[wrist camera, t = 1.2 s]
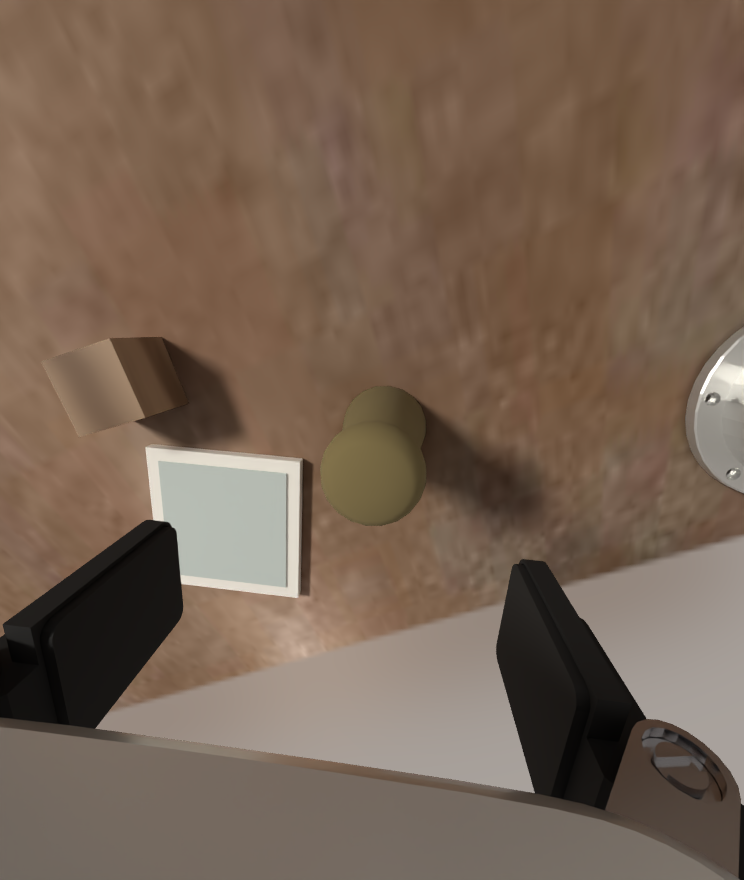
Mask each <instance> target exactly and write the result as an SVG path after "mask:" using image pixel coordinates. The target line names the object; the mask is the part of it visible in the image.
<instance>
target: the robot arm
mask: <svg viewBox="0 0 744 880" xmlns="http://www.w3.org/2000/svg"><path fill="white" fill-rule="evenodd" d="M685 422H686V436H687V439H688V442H689V446H690V449H691V452H692V453H693V455H694V457H695V458H696V460H697V462H698V463H699V465H700V466H701V467H702V468H703V469H704V470H705V471H706V472H707V473H708V474H709V475H710V476H711V477H713V478H714V479H716V480H718V481H719V482H721V483H722V484H724V485H726V486H728V487H730V488H732V489H735V490H737V491H739V492H741V493H744V327H742V328H741V329H739V330H738V331H736V332H735V333H734V334H733V335H732V336H731V337H730V338H729V339H727V340H726V341H725V342H724V343H723V344H722V345H721V346H720V347H719V348H718V349H717V350H716V351H715V353H714V354H713V355H712V356H711V357H710V359H709V360H708V361H707V362H706V364H705V365H704V367H703V368H702V370H701V372H700V374H699V375H698V377H697V379H696V381H695V382H694V385H693V388H692V391H691V393H690V396H689V399H688V404H687V410H686V417H685ZM182 612H183V599H182V588H181V576H180V565H179V553H178V542H177V532H176V529H175V528H172V526H171V524H170V523H169V522H165V521H155V520H146V521H144V522H142V523H141V524H140V525H138V526H137V527H135V528H134V529H133V530H131V531H130V532H129V533H127V534H126V535H124V536H123V537H122V538H120V539H119V540H118V541H116V542H115V543H113V544H112V545H111V546H109V547H108V548H107V549H105V550H104V551H103V552H101V553H100V554H98V555H97V556H96V557H94V558H93V559H92V560H90V561H89V562H87V563H86V564H85V565H83V566H82V567H81V568H79V569H78V570H76V571H75V572H74V573H72V574H71V575H70V576H68V577H67V578H65V579H64V580H63V581H61V582H60V583H59V584H57V585H56V586H54V587H53V588H52V589H50V590H49V591H48V592H46V593H45V594H44V595H42V596H41V597H39V598H38V599H37V600H35V601H34V602H33V603H31V604H30V605H28V606H27V607H26V608H24V609H23V610H22V611H20V612H19V613H17V614H16V615H15V616H13V617H12V618H11V619H9V620H8V621H6V622H5V623H4V624H3V628H4V632H5V634H4V635H3V636H2V637H0V880H744V805H742V804H741V798H740V793H739V788H738V785H737V783H736V782H735V780H734V778H733V776H732V774H731V772H730V771H729V770H728V768H727V767H726V766H725V765H724V763H723V762H722V761H721V760H720V758H719V757H718V756H717V755H716V754H715V753H714V752H713V751H711V750H710V749H709V748H708V747H707V746H706V745H705V744H704V743H703V742H701V741H700V740H698V739H697V738H695V737H694V736H693V735H691V734H690V733H688V732H687V731H684V730H683V729H681V728H679V727H677V726H674V725H673V724H670V723H667V722H663V721H660V720H651V719H646V717H645V716H644V714H643V712H642V711H641V709H640V708H639V706H638V704H637V703H636V701H635V700H634V698H633V696H632V695H631V693H630V692H629V690H628V688H627V687H626V685H625V684H624V682H623V681H622V679H621V677H620V676H619V674H618V673H617V671H616V669H615V668H614V666H613V664H612V663H611V661H610V660H609V658H608V656H607V655H606V653H605V652H604V650H603V648H602V647H601V645H600V644H599V642H598V640H597V639H596V637H595V636H594V634H593V632H592V631H591V629H590V628H589V626H588V625H587V623H586V622H585V621H584V620H583V619H581V618H579V616H578V614H577V613H576V611H575V609H574V608H573V606H572V605H571V603H570V601H569V600H568V598H567V597H566V595H565V593H564V591H563V590H562V588H561V587H560V585H559V583H558V582H557V580H556V578H555V577H554V575H553V573H552V572H551V570H550V569H549V567H548V565H547V564H546V563H545V562H543V561H535V560H525V559H522V560H521V561H520V563H519V564H514V565H513V566H512V570H511V575H510V580H509V585H508V590H507V595H506V600H505V605H504V610H503V615H502V620H501V625H500V630H499V635H498V640H497V646H496V654H497V660H498V664H499V668H500V671H501V674H502V678H503V682H504V685H505V689H506V692H507V696H508V699H509V703H510V707H511V710H512V714H513V717H514V721H515V724H516V727H517V731H518V735H519V738H520V742H521V745H522V749H523V752H524V756H525V759H526V763H527V766H528V770H529V773H530V777H531V780H532V784H533V788H534V791H535V793H530V792H524V791H518V790H512V789H506V788H500V787H494V786H488V785H482V784H476V783H470V782H464V781H458V780H452V779H445V778H439V777H432V776H425V775H418V774H412V773H405V772H398V771H391V770H384V769H378V768H371V767H364V766H357V765H350V764H344V763H337V762H330V761H323V760H316V759H310V758H302V757H295V756H288V755H281V754H274V753H267V752H260V751H253V750H246V749H239V748H232V747H225V746H217V745H210V744H203V743H196V742H189V741H182V740H174V739H167V738H160V737H152V736H145V735H137V734H129V733H122V732H115V731H107V730H100V729H95V728H96V727H97V725H98V724H99V723H100V722H101V720H102V719H103V718H104V716H105V715H106V714H107V713H108V711H109V710H110V709H111V707H112V706H113V705H114V704H115V702H116V701H117V700H118V699H119V697H120V696H121V695H122V693H123V692H124V691H125V690H126V688H127V687H128V686H129V684H130V683H131V682H132V681H133V679H134V678H135V677H136V675H137V674H138V673H139V672H140V670H141V669H142V668H143V666H144V665H145V664H146V663H147V661H148V660H149V659H150V657H151V656H152V655H153V654H154V652H155V651H156V650H157V648H158V647H159V646H160V645H161V643H162V642H163V641H164V639H165V638H166V637H167V636H168V634H169V633H170V632H171V630H172V629H173V628H174V627H175V625H176V624H177V623H178V621H179V620H180V618H181V615H182Z"/></svg>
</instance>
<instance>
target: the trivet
mask: <svg viewBox="0 0 744 880" xmlns="http://www.w3.org/2000/svg"><path fill="white" fill-rule="evenodd" d="M146 456H147V465H148V475H149V484H150V493H151V503H152V512H153V520H155V521H165V522H169V523H170V524H171V526H172V528H175V529H176V532H177V542H178V553H179V565H180V576H181V584H187V585H196V586H204V587H212V588H220V589H228V590H237V591H245V592H253V593H261V594H270V595H278V596H286V597H294V598H298V597H299V594H300V592H301V541H302V481H303V458H292V457H282V456H271V455H261V454H250V453H240V452H230V451H219V450H209V449H198V448H188V447H177V446H167V445H156V444H151V445H149V446H147V447H146Z"/></svg>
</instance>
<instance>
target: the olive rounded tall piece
mask: <svg viewBox="0 0 744 880" xmlns="http://www.w3.org/2000/svg"><path fill="white" fill-rule="evenodd" d="M425 434H426V419H425V416H424V413H423V410H422V408H421V406H420V405H419V404H418V402H417V401H416V400H415V398H414V397H413V396H411V395H410V394H408V393H407V392H405V391H404V390H402V389H398V388H395V387H392V386H376V387H373V388H371V389H368V390H365V391H363V392H362V393H361V394H359V395H358V396H357V397H356V398H354V399H353V401H352V402H351V404H350V405H349V407H348V408H347V411H346V415H345V418H344V422H343V429H342V431H341V432H340V433H339V434H337V435H336V436H335V437H334V438H333V440H332V441H331V443H330V444H329V446H328V447H327V449H326V450H325V452H324V455H323V459H322V463H321V466H320V473H321V485H322V489H323V491H324V494H325V496H326V498H327V501H328V502H329V503H330V504H331V505H332V507H333V508H334V509H335V510H336V511H337V512H338V513H339V514H341V515H342V516H344V517H345V518H347V519H348V520H350V521H352V522H356V523H359V524H362V525H366V526H383V525H386V524H390V523H393V522H397V521H398V520H400V519H401V518H403V517H404V516H406V515H407V514H409V513H410V512H411V510H412V509H413V508H414V507H415V505H416V504H417V503H418V502H419V500H420V498H421V496H422V493H423V490H424V488H425V485H426V463H425V460H424V457H423V454H422V451H421V446H422V443H423V440H424V437H425Z"/></svg>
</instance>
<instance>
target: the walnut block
mask: <svg viewBox="0 0 744 880" xmlns="http://www.w3.org/2000/svg"><path fill="white" fill-rule="evenodd" d="M41 363H42V365H43V367H44V369H45V371H46V373H47V375H48V377H49V379H50V381H51V383H52V385H53V387H54V389H55V391H56V393H57V395H58V397H59V399H60V401H61V403H62V405H63V407H64V409H65V410H66V412H67V414H68V416H69V418H70V420H71V422H72V424H73V426H74V428H75V430H76V432H77V434H78V436H79V437H82V436H85V435H88V434H92V433H95V432H99V431H102V430H105V429H109V428H112V427H116V426H119V425H122V424H126V423H129V422H133V421H136V420H139V419H143V418H146V417H149V416H152V415H155V414H158V413H161V412H164V411H167V410H170V409H173V408H176V407H179V406H182V405H185V404H188V403H189V402H188V400H187V397H186V395H185V393H184V390H183V388H182V385H181V383H180V381H179V378H178V376H177V373H176V371H175V368H174V366H173V364H172V361H171V359H170V356H169V354H168V352H167V349H166V347H165V344H164V342H163V339H162V337H141V338H109V339H106V340H103V341H100V342H97V343H94V344H91V345H89V346H86V347H83V348H80V349H77V350H74V351H71V352H68V353H65V354H62V355H59V356H56V357H53V358H50V359H47V360H44V361H41Z"/></svg>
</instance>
